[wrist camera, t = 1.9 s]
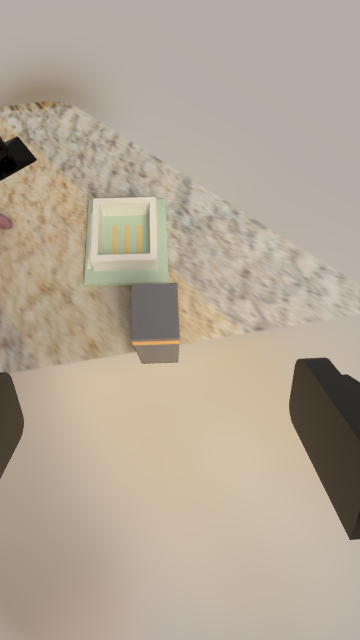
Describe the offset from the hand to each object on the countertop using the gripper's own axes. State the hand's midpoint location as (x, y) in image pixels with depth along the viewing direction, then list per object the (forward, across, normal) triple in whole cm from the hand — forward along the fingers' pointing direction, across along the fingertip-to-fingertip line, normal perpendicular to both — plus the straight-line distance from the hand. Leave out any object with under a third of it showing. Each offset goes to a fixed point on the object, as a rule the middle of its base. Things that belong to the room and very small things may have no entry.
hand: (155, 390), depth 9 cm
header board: (+34, +4, +3) cm, 35 cm away
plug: (+25, +1, +13) cm, 28 cm away
